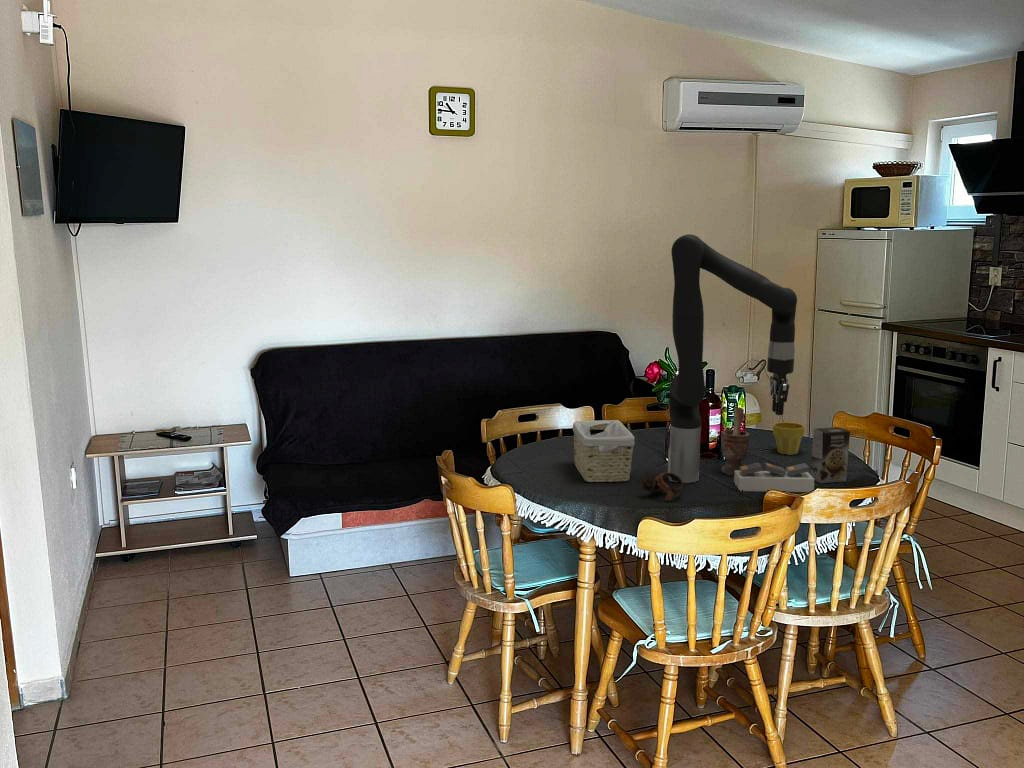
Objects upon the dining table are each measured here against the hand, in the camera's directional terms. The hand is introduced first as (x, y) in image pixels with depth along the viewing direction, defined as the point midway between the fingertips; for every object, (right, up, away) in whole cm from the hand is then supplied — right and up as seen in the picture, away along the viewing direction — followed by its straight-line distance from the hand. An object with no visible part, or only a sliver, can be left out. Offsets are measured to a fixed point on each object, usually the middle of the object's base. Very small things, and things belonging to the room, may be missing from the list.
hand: (777, 412), depth 273 cm
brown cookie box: (+19, -21, +13) cm, 31 cm away
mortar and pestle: (-8, -20, +22) cm, 30 cm away
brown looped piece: (-35, -25, -4) cm, 43 cm away
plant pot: (+16, -15, +43) cm, 48 cm away
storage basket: (-50, -20, +20) cm, 58 cm away
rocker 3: (+7, -17, +3) cm, 19 cm away
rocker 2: (0, -17, +3) cm, 17 cm away
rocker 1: (-7, -17, +4) cm, 19 cm away
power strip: (0, -23, +5) cm, 23 cm away
